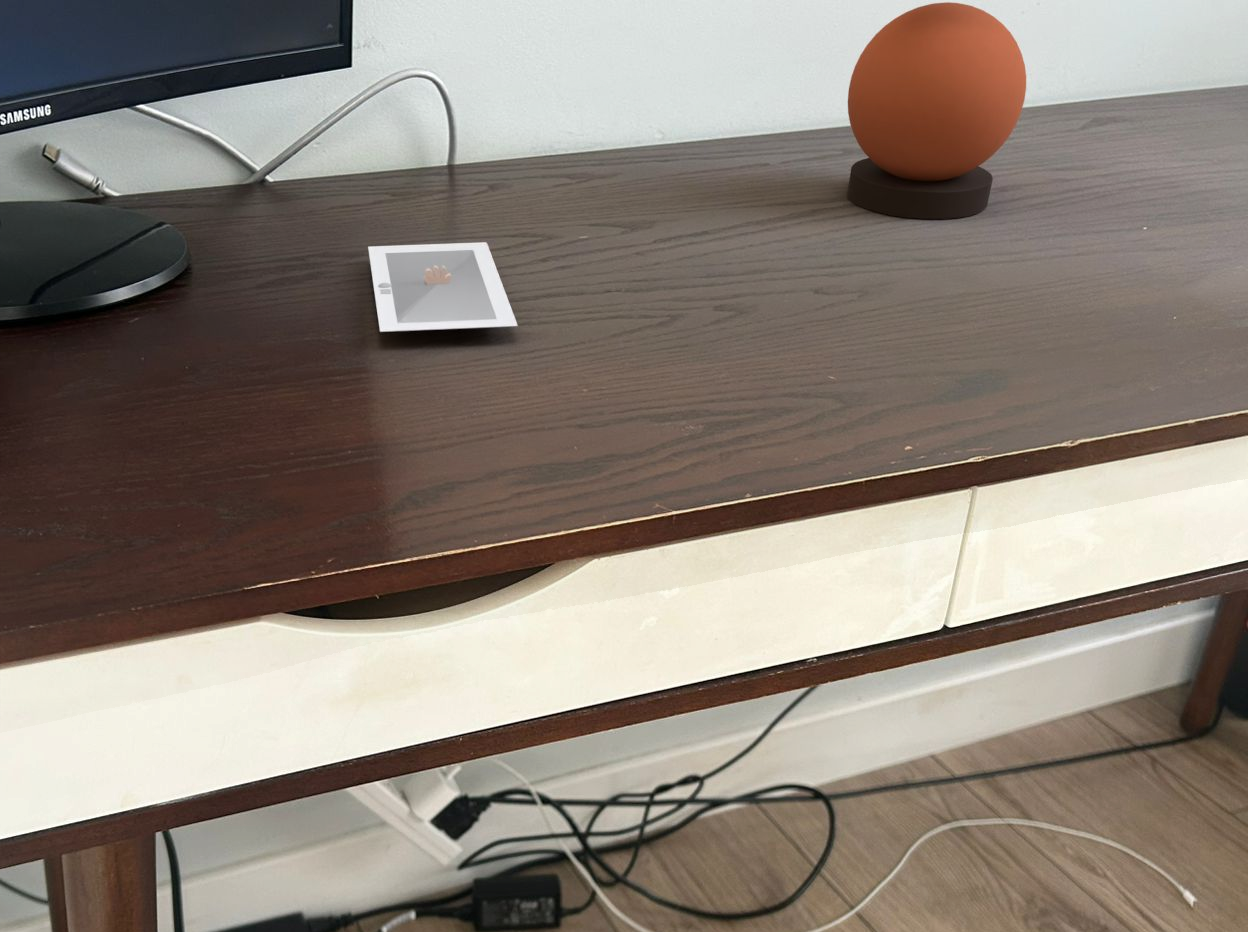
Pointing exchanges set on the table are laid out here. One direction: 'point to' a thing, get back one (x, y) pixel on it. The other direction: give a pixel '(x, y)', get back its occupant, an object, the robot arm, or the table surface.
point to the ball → (933, 111)
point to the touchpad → (438, 287)
